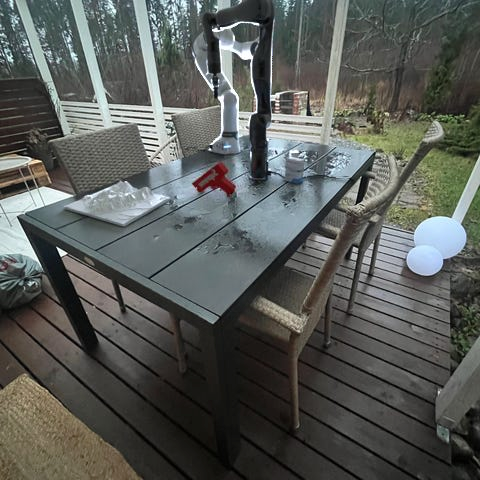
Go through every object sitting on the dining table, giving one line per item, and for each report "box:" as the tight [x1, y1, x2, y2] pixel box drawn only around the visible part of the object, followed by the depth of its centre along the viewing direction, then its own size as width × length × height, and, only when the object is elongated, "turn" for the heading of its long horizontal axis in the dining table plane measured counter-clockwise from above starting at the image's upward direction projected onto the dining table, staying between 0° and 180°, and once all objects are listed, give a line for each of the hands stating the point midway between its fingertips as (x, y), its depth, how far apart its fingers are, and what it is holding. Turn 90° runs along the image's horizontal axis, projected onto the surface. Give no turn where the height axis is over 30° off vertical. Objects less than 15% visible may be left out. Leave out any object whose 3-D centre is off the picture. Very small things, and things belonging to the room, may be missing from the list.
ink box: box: [284, 156, 306, 185], centre depth 140 cm, size 8×5×12 cm, turn 47°
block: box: [288, 150, 300, 158], centre depth 177 cm, size 4×5×5 cm
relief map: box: [63, 179, 171, 227], centre depth 119 cm, size 27×35×5 cm
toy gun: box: [191, 161, 237, 197], centre depth 128 cm, size 18×4×15 cm
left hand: (261, 86), depth 203 cm, fingers open, 8 cm apart
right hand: (216, 97), depth 148 cm, fingers open, 8 cm apart
